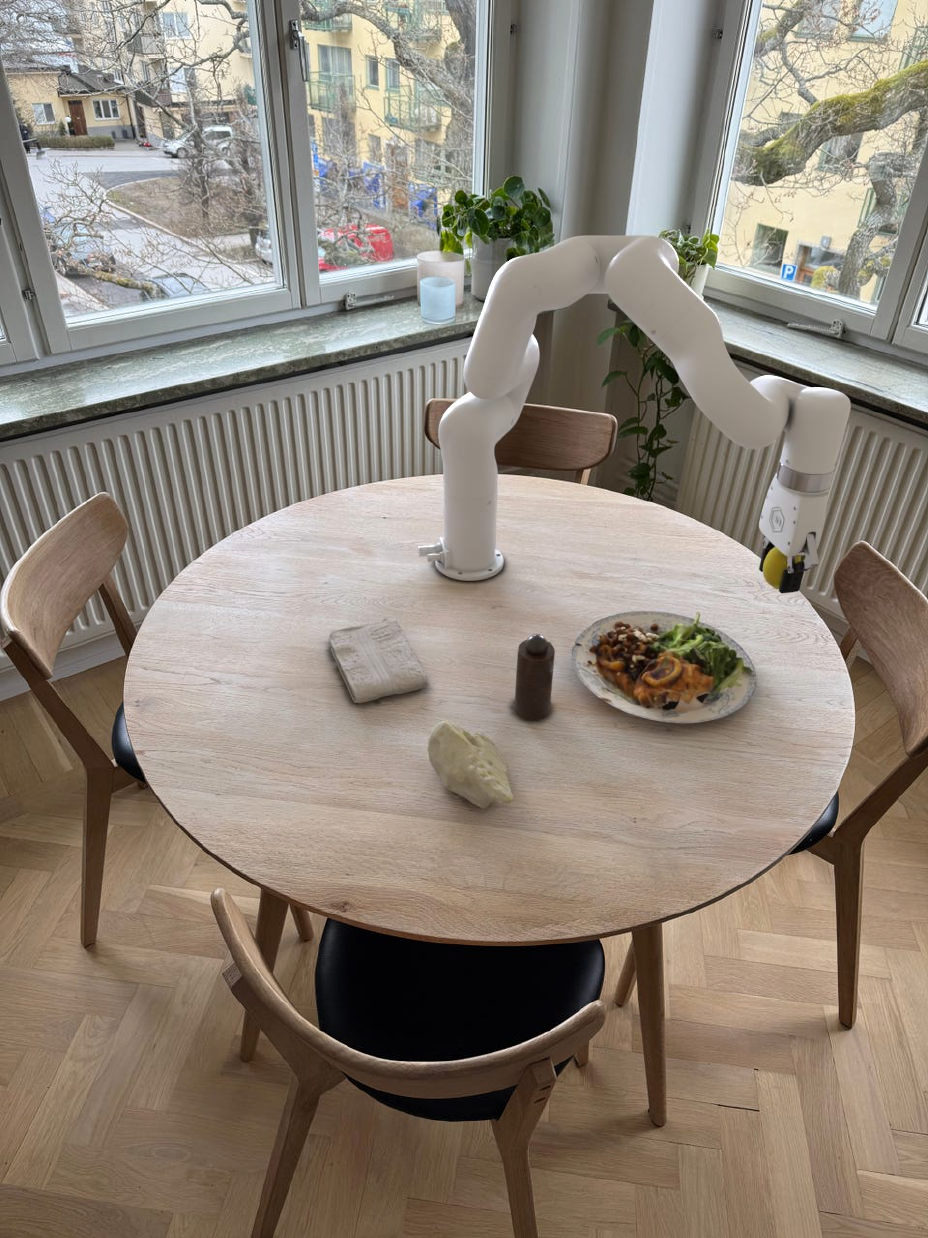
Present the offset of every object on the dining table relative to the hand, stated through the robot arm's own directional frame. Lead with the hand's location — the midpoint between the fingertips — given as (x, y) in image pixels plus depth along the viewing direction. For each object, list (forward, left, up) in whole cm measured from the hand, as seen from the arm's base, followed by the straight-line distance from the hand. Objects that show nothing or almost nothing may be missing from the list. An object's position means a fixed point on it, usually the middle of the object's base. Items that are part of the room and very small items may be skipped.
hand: (778, 579), depth 141 cm
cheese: (-53, -24, -12) cm, 59 cm away
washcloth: (-63, +6, -12) cm, 64 cm away
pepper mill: (-42, -9, -12) cm, 45 cm away
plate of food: (-20, -5, -12) cm, 24 cm away
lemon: (0, 0, -2) cm, 2 cm away
